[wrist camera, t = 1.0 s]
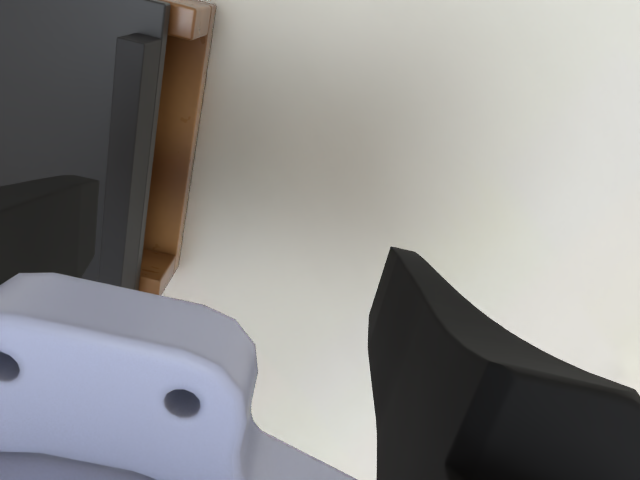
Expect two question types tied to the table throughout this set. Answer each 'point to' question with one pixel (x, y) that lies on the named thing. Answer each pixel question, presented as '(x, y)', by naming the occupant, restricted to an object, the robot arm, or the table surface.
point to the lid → (86, 110)
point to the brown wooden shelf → (175, 139)
